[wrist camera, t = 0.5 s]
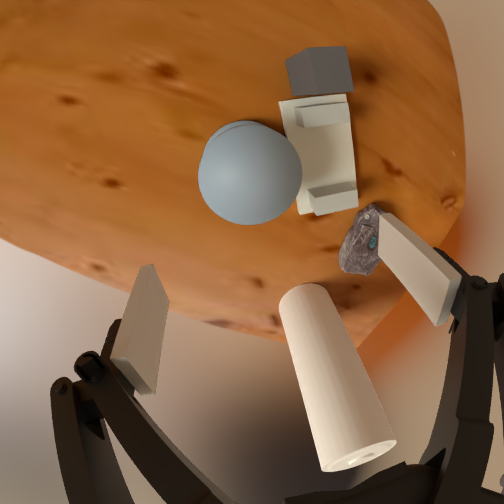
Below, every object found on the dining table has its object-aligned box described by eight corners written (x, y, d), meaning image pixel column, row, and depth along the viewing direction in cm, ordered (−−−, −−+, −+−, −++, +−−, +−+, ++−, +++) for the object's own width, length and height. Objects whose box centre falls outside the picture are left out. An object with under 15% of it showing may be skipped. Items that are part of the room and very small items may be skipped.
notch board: (278, 101, 33) (286, 101, 28) (342, 93, 32) (357, 94, 28) (298, 211, 41) (307, 225, 37) (354, 199, 41) (368, 211, 37)
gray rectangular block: (285, 60, 30) (308, 47, 21) (314, 57, 30) (345, 46, 21) (292, 95, 32) (317, 94, 24) (321, 92, 32) (354, 91, 24)
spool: (193, 132, 33) (186, 140, 26) (277, 113, 33) (293, 116, 26) (214, 208, 39) (213, 235, 32) (291, 189, 39) (308, 212, 32)
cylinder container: (332, 280, 48) (409, 434, 22) (326, 319, 53) (383, 460, 27) (279, 287, 47) (330, 461, 21) (278, 326, 52) (317, 479, 26)
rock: (395, 209, 42) (409, 220, 38) (369, 266, 48) (380, 281, 44) (356, 197, 41) (369, 208, 37) (331, 260, 46) (340, 275, 42)
